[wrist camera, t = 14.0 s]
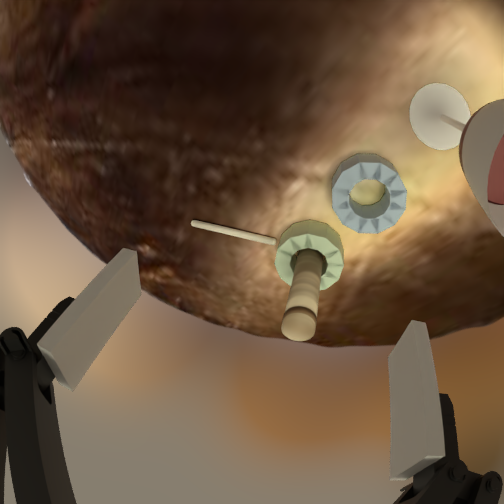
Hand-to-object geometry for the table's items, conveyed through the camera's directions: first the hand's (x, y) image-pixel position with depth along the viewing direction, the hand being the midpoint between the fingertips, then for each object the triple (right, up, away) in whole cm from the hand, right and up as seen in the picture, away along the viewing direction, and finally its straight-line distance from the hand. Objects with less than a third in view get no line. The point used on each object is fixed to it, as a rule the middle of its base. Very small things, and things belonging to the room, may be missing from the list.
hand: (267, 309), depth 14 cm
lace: (-3, +6, +32) cm, 33 cm away
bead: (+8, +3, +31) cm, 32 cm away
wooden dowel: (+8, +3, +31) cm, 32 cm away
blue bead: (+14, +11, +24) cm, 30 cm away
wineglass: (+22, +19, +17) cm, 34 cm away
